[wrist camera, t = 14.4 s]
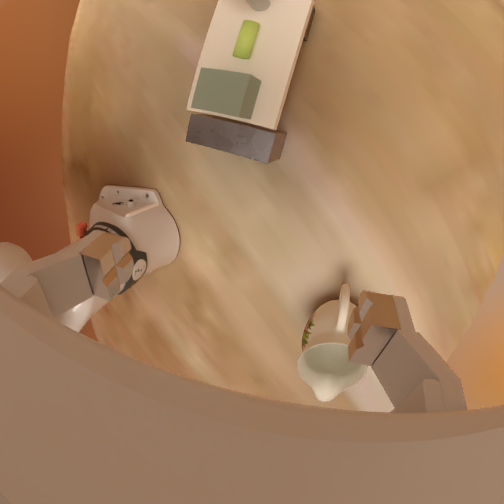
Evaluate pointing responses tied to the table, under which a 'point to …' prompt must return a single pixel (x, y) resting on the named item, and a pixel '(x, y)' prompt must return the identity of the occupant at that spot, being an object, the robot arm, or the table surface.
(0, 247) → the robot arm
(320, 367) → the pitcher
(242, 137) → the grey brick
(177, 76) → the table surface
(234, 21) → the plate
